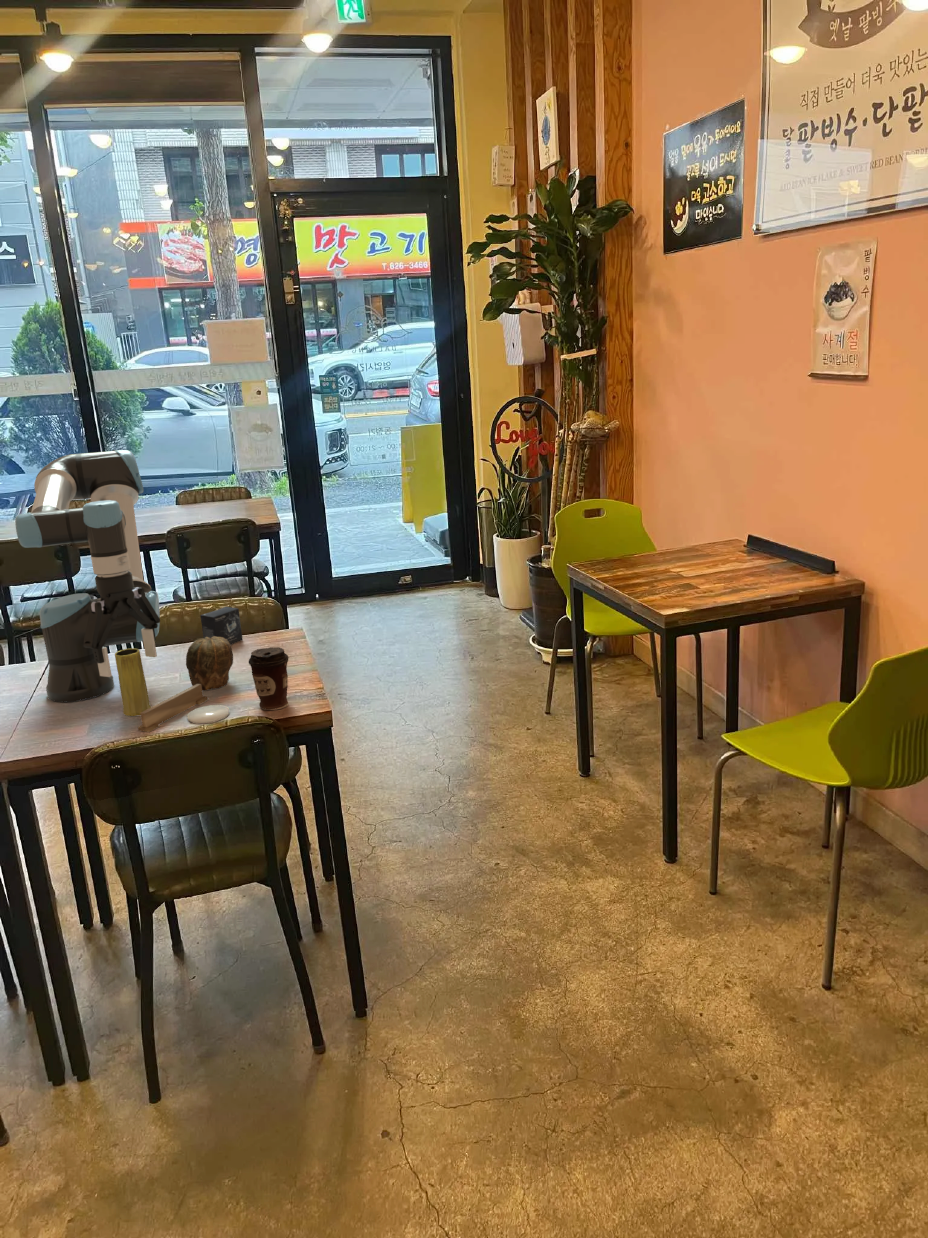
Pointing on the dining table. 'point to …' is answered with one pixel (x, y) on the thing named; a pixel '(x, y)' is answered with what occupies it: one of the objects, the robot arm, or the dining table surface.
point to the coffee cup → (270, 677)
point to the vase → (132, 682)
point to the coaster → (208, 714)
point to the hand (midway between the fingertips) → (129, 666)
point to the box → (222, 624)
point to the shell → (209, 662)
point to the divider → (171, 707)
